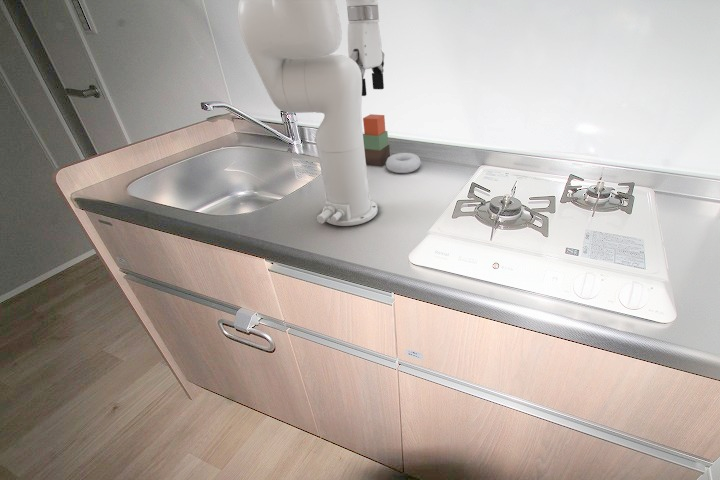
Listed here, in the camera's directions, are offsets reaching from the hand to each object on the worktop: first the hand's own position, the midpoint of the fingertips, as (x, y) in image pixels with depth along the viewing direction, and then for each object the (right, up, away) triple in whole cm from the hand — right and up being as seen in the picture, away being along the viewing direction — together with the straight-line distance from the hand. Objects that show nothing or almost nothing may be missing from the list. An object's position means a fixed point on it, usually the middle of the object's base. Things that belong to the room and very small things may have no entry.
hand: (370, 92), depth 98 cm
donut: (+9, -19, +6) cm, 22 cm away
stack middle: (+1, -12, +9) cm, 15 cm away
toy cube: (+1, -9, +7) cm, 11 cm away
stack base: (+1, -15, +12) cm, 19 cm away
